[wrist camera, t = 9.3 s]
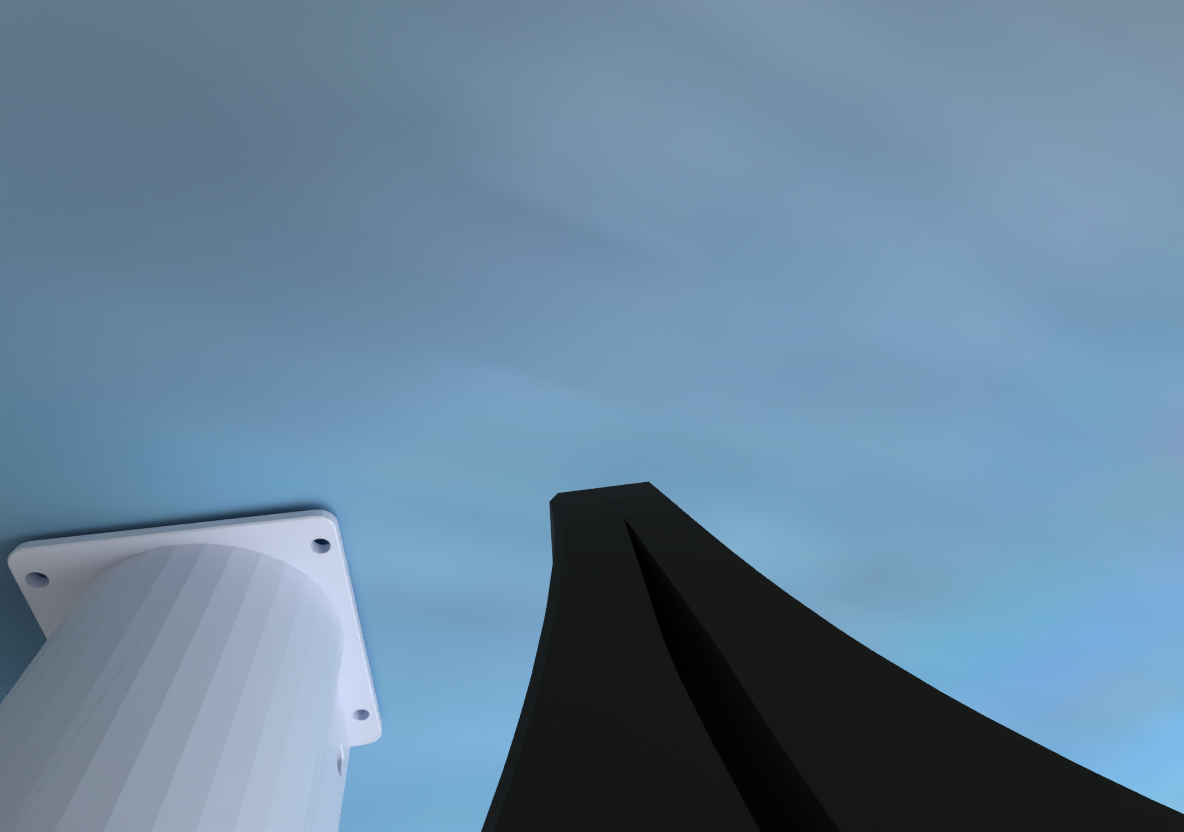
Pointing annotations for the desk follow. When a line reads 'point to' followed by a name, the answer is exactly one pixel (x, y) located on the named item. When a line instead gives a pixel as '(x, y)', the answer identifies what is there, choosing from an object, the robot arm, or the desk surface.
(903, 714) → the robot arm
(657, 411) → the desk surface
